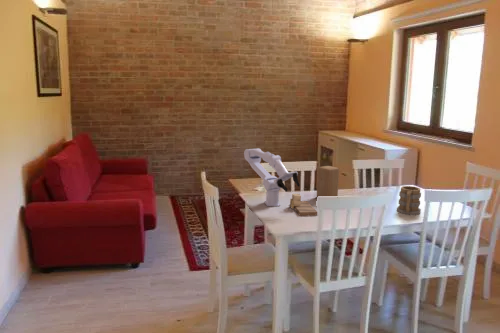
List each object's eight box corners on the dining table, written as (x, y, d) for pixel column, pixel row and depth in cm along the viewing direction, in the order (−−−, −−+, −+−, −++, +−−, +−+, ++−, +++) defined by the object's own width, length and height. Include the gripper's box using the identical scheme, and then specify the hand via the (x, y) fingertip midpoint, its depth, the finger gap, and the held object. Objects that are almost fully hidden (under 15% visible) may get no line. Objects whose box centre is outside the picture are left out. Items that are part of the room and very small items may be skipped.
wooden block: (315, 197, 287) (317, 166, 283) (326, 195, 293) (328, 165, 289) (327, 200, 280) (328, 169, 276) (338, 198, 285) (340, 167, 281)
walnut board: (290, 204, 270) (290, 201, 269) (306, 204, 271) (306, 201, 271) (299, 215, 249) (300, 212, 248) (317, 215, 250) (317, 211, 250)
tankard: (399, 207, 270) (401, 182, 267) (421, 210, 264) (423, 185, 261) (393, 215, 252) (395, 190, 249) (416, 219, 246) (419, 193, 243)
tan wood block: (290, 206, 265) (290, 193, 264) (298, 206, 266) (298, 193, 264) (292, 208, 260) (292, 196, 259) (300, 208, 261) (300, 195, 260)
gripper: (270, 171, 253) (281, 188, 245) (292, 162, 256) (304, 178, 248) (270, 179, 258) (281, 196, 250) (292, 169, 262) (304, 186, 254)
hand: (292, 188), depth 250 cm, fingers open, 7 cm apart
